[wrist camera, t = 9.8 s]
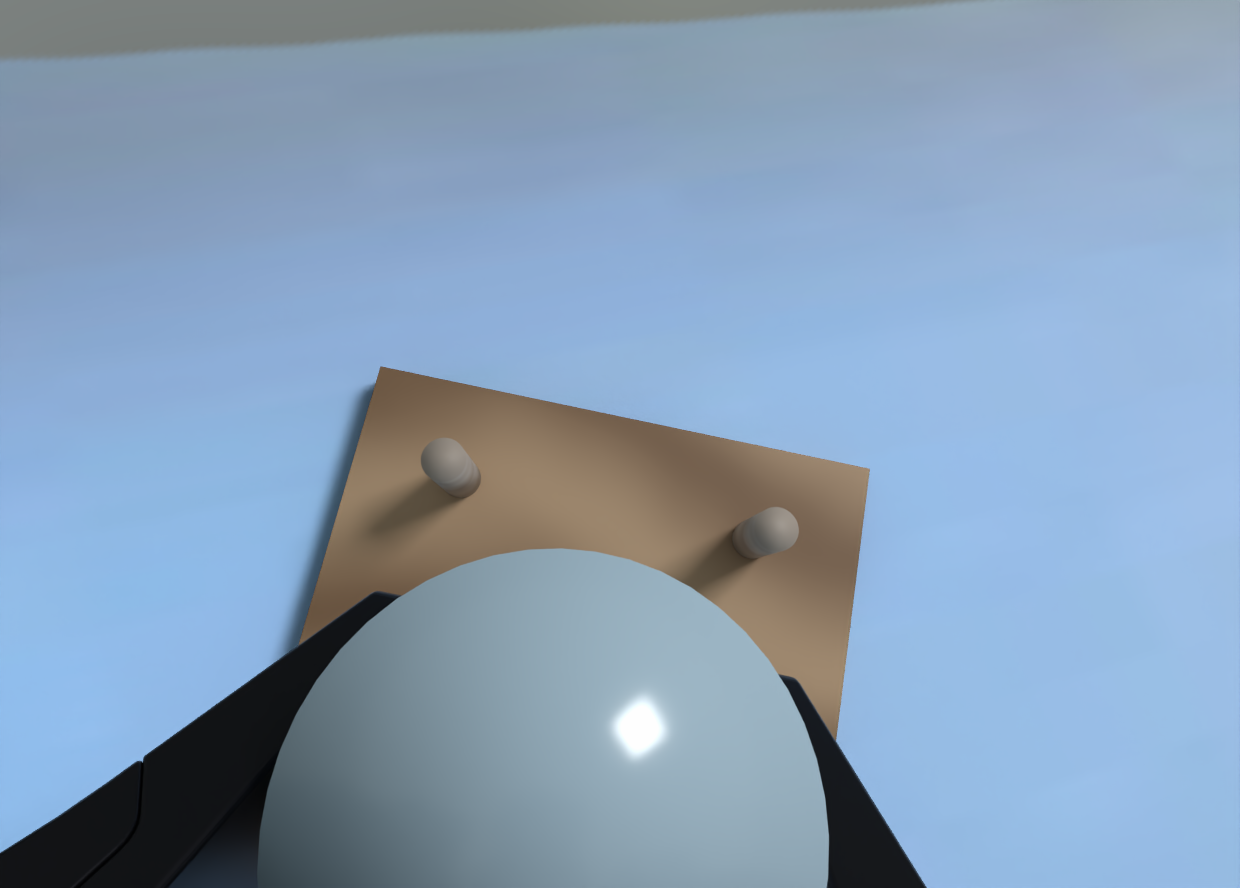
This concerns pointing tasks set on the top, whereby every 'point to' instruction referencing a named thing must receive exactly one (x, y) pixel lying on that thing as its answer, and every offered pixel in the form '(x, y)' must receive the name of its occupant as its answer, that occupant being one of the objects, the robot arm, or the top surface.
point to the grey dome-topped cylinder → (547, 742)
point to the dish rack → (600, 513)
